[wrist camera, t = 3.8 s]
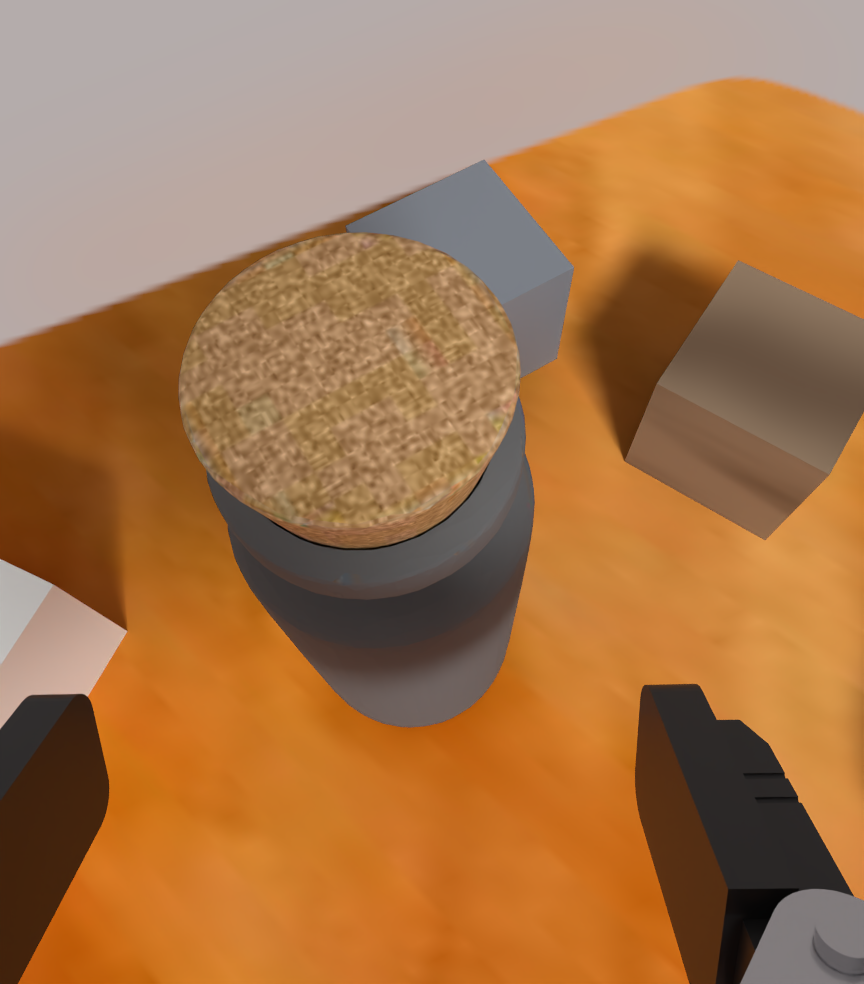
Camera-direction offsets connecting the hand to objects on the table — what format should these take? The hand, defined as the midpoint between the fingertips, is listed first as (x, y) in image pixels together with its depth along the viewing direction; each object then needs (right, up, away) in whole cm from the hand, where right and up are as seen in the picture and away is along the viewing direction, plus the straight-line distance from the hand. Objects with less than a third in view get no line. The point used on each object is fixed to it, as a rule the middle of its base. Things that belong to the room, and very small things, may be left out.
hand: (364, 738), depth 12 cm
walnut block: (+11, +5, +15) cm, 19 cm away
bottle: (0, -1, +13) cm, 13 cm away
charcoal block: (+2, +9, +17) cm, 19 cm away
